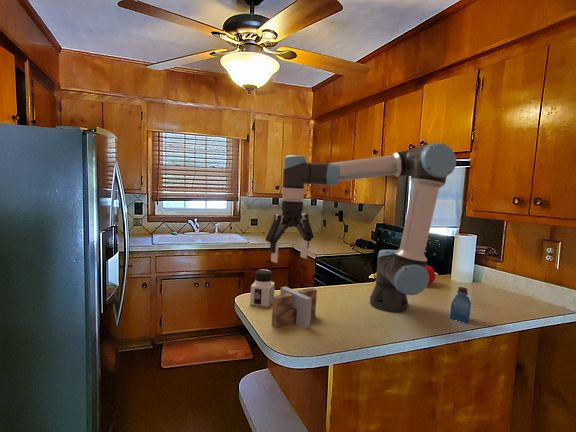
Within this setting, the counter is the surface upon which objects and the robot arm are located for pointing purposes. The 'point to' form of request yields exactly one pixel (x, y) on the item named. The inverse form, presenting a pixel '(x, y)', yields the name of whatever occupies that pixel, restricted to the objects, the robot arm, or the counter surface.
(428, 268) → the tomato
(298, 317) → the arch block
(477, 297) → the counter surface
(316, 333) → the counter surface
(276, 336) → the counter surface
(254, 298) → the container
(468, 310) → the perfume bottle
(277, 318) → the board
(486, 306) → the counter surface
